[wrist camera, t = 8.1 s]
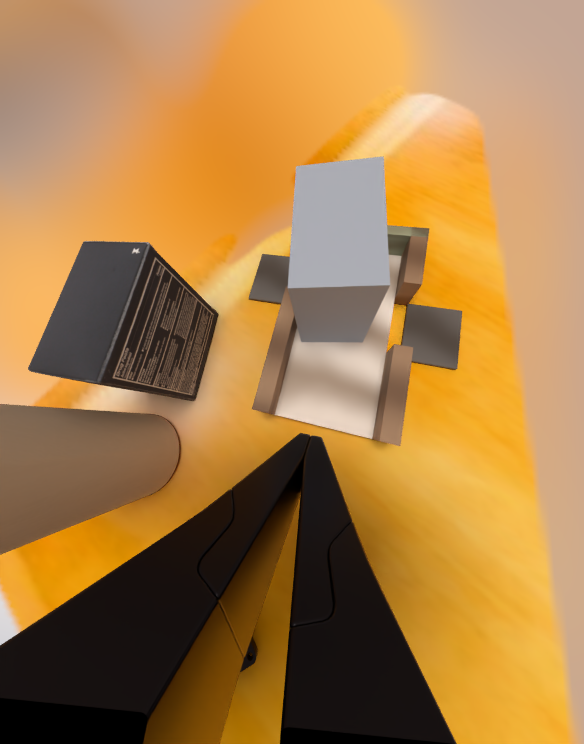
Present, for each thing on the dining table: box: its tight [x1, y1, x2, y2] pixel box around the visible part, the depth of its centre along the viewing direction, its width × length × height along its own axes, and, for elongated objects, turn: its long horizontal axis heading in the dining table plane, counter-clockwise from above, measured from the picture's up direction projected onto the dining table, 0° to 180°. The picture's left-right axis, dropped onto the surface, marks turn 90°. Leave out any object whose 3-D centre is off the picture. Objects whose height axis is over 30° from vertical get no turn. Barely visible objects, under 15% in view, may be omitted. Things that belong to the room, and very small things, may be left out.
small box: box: [28, 241, 218, 401], centre depth 20 cm, size 11×6×10 cm, turn 170°
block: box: [288, 157, 390, 342], centre depth 19 cm, size 10×6×9 cm, turn 177°
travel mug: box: [0, 404, 179, 555], centre depth 14 cm, size 8×8×18 cm
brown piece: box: [249, 225, 462, 446], centre depth 21 cm, size 20×22×4 cm
